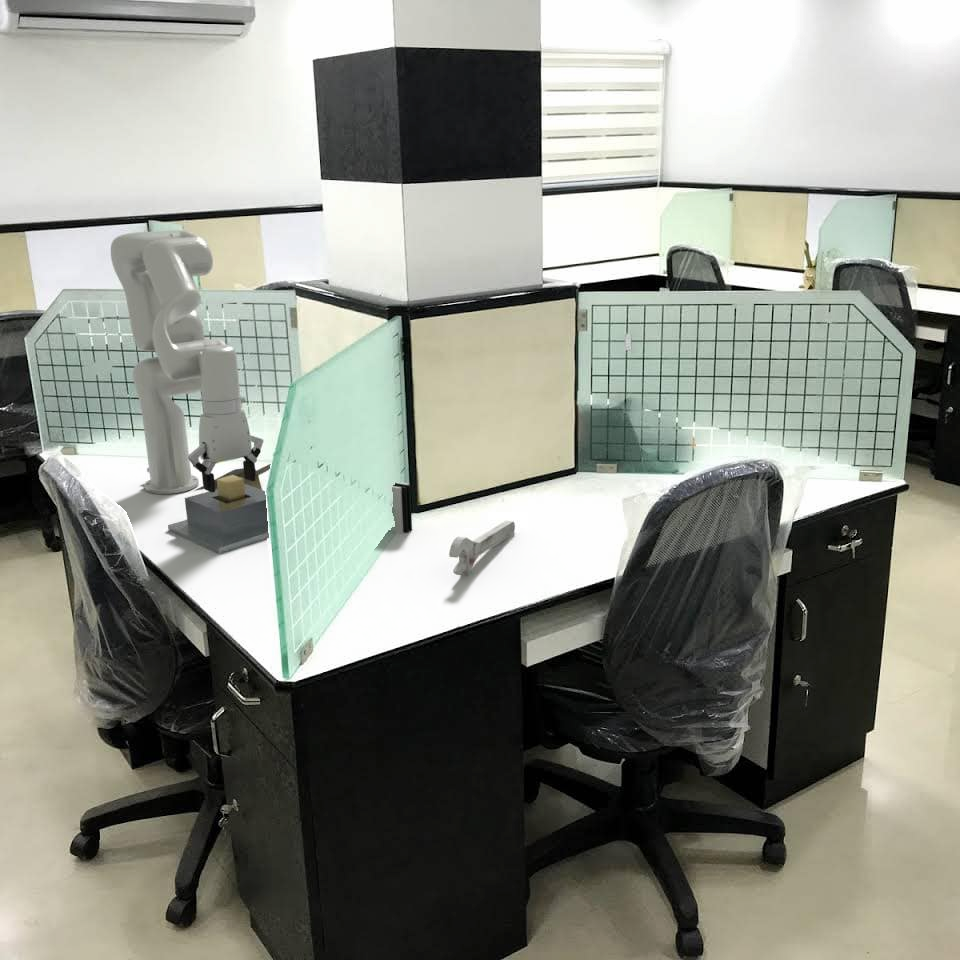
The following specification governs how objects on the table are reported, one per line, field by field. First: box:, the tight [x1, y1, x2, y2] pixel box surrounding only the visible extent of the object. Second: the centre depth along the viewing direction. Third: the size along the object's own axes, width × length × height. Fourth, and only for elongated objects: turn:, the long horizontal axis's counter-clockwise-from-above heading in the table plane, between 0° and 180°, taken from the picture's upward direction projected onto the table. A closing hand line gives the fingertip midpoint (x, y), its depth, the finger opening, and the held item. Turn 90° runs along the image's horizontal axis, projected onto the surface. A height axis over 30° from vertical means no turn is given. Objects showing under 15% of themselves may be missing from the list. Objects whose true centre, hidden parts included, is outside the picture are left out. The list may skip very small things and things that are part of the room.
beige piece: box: [193, 463, 272, 492], centre depth 233 cm, size 16×9×15 cm
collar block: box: [167, 484, 269, 555], centre depth 212 cm, size 20×20×7 cm
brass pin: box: [216, 475, 245, 504], centre depth 211 cm, size 4×4×10 cm
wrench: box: [448, 520, 516, 576], centre depth 195 cm, size 8×2×30 cm
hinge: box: [388, 481, 413, 534], centre depth 211 cm, size 14×5×10 cm, turn 74°
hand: (230, 485), depth 210 cm, fingers open, 9 cm apart
